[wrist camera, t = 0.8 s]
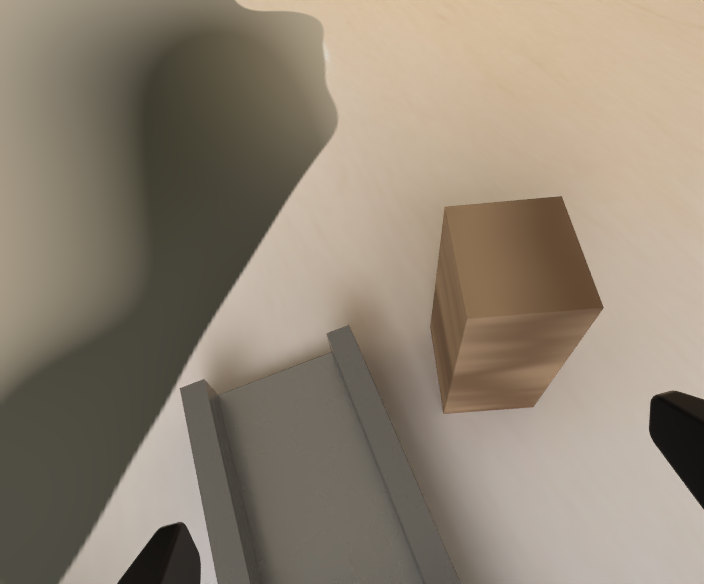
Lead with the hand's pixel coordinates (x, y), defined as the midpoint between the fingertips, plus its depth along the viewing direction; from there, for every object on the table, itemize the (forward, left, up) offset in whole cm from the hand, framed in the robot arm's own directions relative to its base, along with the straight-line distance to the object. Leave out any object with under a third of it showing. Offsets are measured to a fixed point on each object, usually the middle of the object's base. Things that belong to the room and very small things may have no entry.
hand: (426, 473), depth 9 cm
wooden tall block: (+2, -9, -15) cm, 18 cm away
